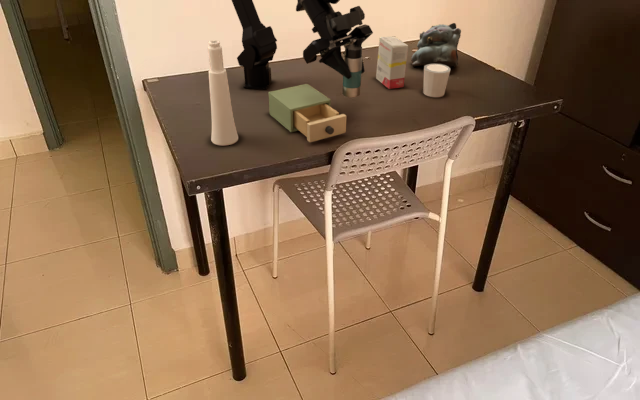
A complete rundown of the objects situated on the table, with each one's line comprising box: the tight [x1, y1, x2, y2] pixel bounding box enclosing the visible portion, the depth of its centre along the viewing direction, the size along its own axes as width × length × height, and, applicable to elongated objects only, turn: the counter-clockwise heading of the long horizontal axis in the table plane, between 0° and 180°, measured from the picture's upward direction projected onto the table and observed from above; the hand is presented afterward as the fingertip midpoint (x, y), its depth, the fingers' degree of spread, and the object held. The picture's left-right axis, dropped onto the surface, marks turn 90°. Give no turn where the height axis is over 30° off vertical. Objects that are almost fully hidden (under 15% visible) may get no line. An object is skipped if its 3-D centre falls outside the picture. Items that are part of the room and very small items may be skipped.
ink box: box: [375, 36, 409, 90], centre depth 138 cm, size 9×5×12 cm, turn 19°
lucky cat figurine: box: [410, 22, 462, 68], centre depth 150 cm, size 15×12×14 cm
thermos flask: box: [342, 44, 363, 98], centre depth 117 cm, size 4×4×11 cm
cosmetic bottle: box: [207, 39, 239, 147], centre depth 107 cm, size 6×6×22 cm
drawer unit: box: [268, 83, 332, 133], centre depth 121 cm, size 11×11×6 cm
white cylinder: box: [422, 64, 451, 98], centre depth 134 cm, size 7×7×7 cm
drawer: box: [293, 103, 347, 143], centre depth 115 cm, size 12×10×4 cm
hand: (356, 75), depth 117 cm, fingers closed on thermos flask, 4 cm apart
